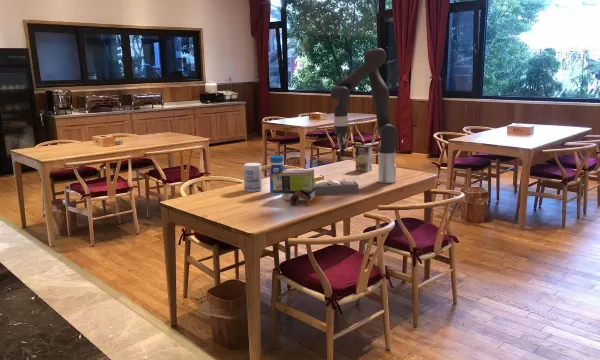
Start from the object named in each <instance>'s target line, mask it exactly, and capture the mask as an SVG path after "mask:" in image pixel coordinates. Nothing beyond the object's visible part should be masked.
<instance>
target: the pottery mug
mask: <svg viewBox="0 0 600 360" xmlns="http://www.w3.org/2000/svg"><path fill="white" fill-rule="evenodd" d="M299 196H300V197H301V198H303V199H305V200H307V201H306V204H305V205H306V206H309V205H310V203H311V201H310V198H311V196H310V195H309V194H308V193H307V192H305V191H303V190H298V191H297V192H295V193H294V194H293V195H292V196H291V198H290V200H289V201H290V203H289V204H290V206H293V205H294V206H297V203H298V201H299V200H298V199H299Z"/></svg>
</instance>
